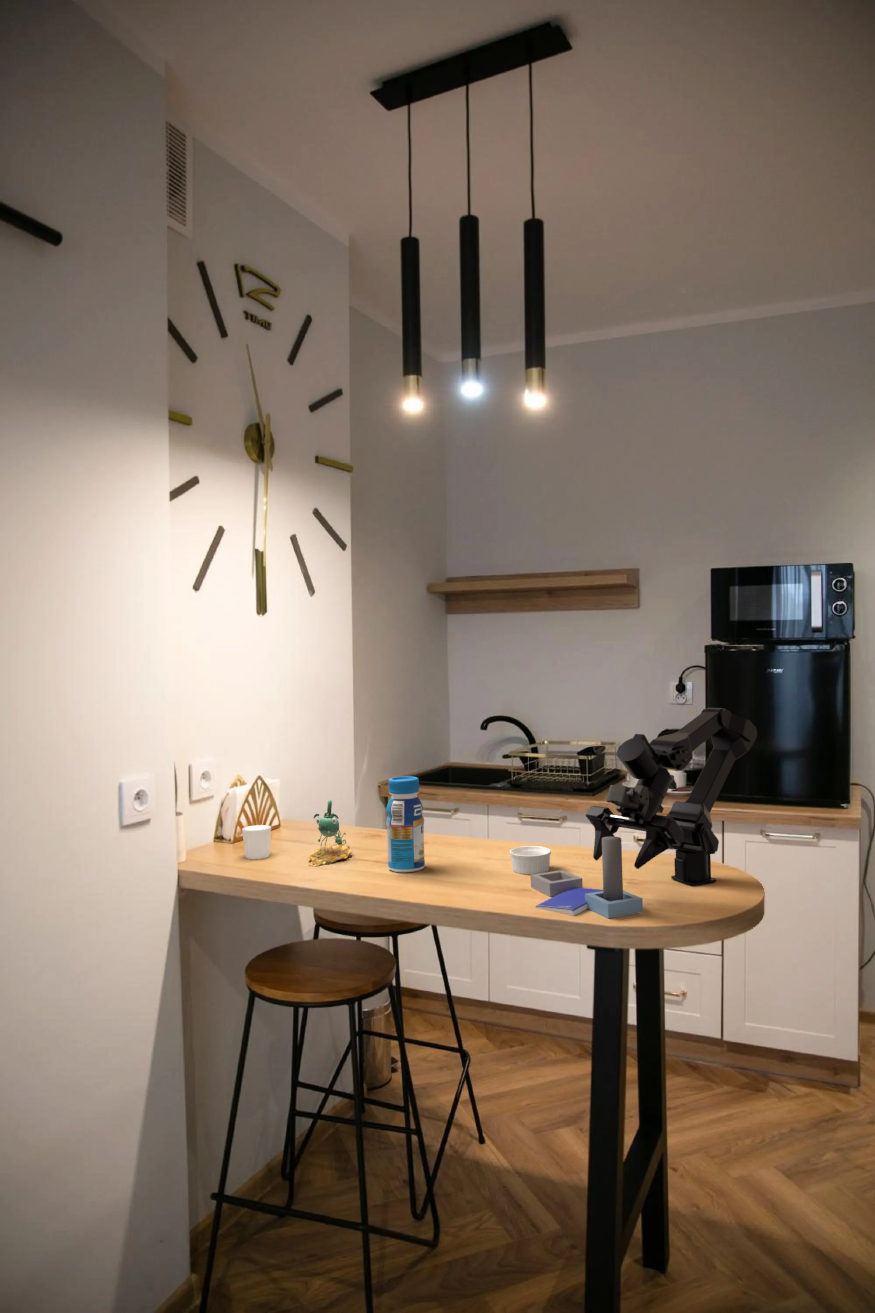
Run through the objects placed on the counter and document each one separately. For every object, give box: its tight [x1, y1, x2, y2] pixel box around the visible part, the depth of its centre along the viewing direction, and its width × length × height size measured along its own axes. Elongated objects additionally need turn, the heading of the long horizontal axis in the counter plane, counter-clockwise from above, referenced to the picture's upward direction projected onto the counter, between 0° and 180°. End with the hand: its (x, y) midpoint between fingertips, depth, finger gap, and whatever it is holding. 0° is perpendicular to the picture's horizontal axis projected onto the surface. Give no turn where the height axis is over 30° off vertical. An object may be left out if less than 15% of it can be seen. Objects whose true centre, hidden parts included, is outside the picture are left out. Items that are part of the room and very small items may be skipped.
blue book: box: [535, 887, 603, 917], centre depth 162 cm, size 2×8×12 cm
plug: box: [601, 836, 624, 901], centre depth 157 cm, size 4×4×13 cm
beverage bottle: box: [385, 775, 426, 873], centre depth 191 cm, size 8×8×20 cm
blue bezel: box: [585, 889, 644, 919], centre depth 157 cm, size 7×7×2 cm
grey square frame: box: [530, 869, 584, 897], centre depth 172 cm, size 7×7×2 cm
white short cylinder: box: [241, 824, 272, 860], centre depth 207 cm, size 7×7×7 cm
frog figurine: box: [307, 799, 353, 868], centre depth 203 cm, size 10×18×15 cm, turn 155°
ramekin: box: [509, 845, 552, 876], centre depth 187 cm, size 9×9×4 cm
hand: (615, 863), depth 158 cm, fingers open, 9 cm apart
